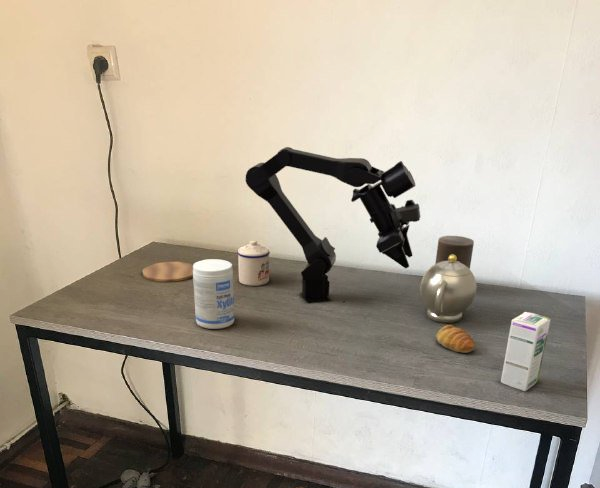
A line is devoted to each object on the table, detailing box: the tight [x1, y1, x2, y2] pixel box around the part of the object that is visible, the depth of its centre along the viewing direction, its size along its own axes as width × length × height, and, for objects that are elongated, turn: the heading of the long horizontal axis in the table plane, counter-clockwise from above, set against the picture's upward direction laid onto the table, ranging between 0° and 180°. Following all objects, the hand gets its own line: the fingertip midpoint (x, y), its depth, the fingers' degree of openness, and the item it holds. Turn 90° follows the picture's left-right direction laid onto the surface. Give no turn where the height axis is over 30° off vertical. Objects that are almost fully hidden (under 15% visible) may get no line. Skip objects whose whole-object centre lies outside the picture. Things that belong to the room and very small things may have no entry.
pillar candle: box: [434, 235, 475, 270], centre depth 178 cm, size 10×10×15 cm
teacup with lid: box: [237, 240, 271, 287], centre depth 181 cm, size 12×9×12 cm
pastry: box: [435, 324, 476, 354], centre depth 146 cm, size 9×7×4 cm
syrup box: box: [500, 311, 551, 392], centre depth 129 cm, size 6×6×14 cm
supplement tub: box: [192, 258, 235, 330], centre depth 153 cm, size 10×10×15 cm
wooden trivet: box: [142, 261, 194, 283], centre depth 188 cm, size 16×16×1 cm
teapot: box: [420, 254, 477, 324], centre depth 157 cm, size 18×14×16 cm
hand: (409, 261), depth 162 cm, fingers open, 9 cm apart
